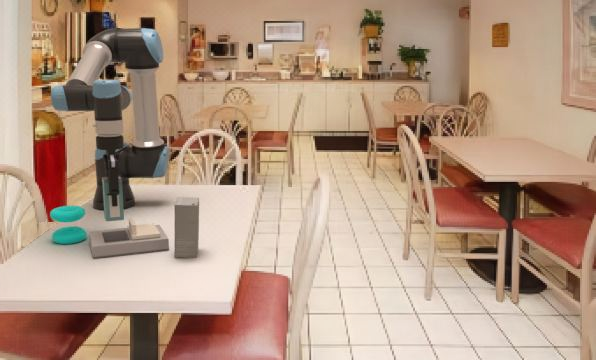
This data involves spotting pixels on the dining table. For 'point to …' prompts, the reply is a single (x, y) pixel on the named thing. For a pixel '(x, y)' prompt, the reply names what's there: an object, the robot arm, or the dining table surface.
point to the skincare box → (186, 227)
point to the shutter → (142, 230)
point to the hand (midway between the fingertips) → (114, 214)
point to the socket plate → (124, 243)
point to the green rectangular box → (106, 200)
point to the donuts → (68, 233)
